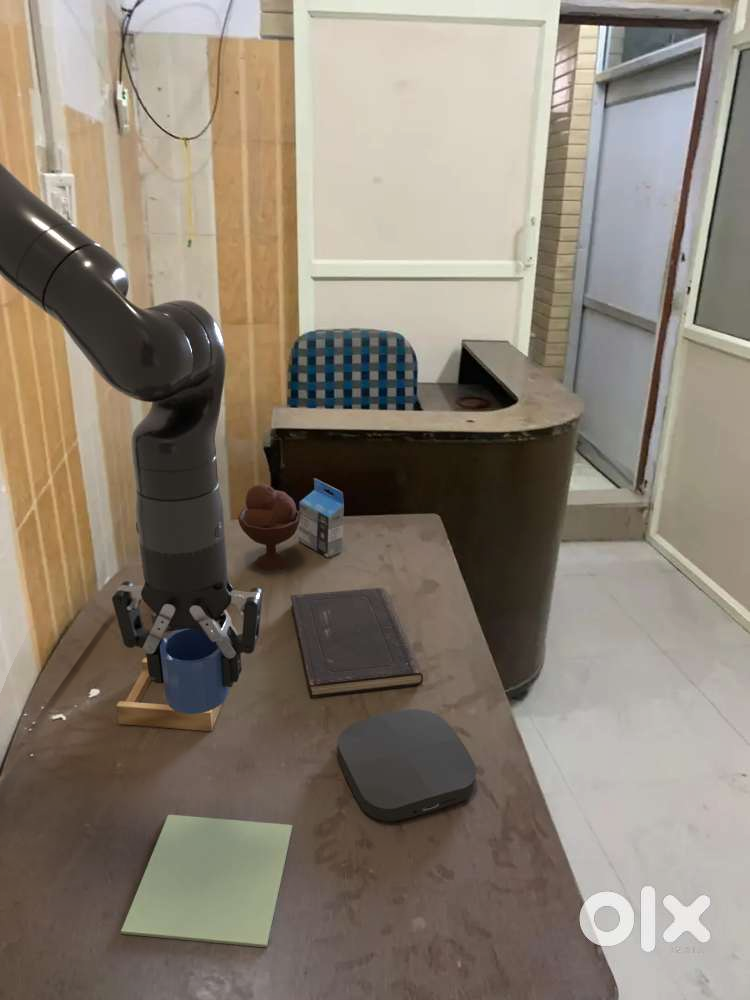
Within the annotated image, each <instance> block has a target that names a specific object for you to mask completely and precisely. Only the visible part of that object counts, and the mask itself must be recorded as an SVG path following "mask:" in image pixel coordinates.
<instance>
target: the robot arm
mask: <svg viewBox="0 0 750 1000" xmlns="http://www.w3.org/2000/svg"><path fill="white" fill-rule="evenodd" d="M0 276H1V277H2V278H3V280H5V281H6V282H7V283H8V284H9V285H10V286H12V287H13V288H14V289H15V290H17V291H18V292H19V293H20V294H22V295H23V296H24V297H25V298H26V299H28V300H29V301H31V303H32V304H34V305H36V307H38V308H39V309H40V310H42V311H43V312H44V313H46V314H47V315H49V316H50V317H52V318H53V319H54V320H55V321H57V322H58V323H60V324H61V326H62V327H63V329H64V330H65V331H66V333H67V334H68V335H69V337H70V338H71V340H72V341H73V343H74V344H75V345H76V347H77V348H78V349H79V350H80V352H81V353H82V354H83V356H84V357H85V358H86V359H87V361H88V362H89V364H90V365H91V366H92V367H93V369H94V370H95V371H96V372H97V373H98V375H99V376H100V377H101V378H102V379H103V380H104V381H105V382H106V383H107V384H108V385H109V386H110V387H112V388H113V389H114V390H116V391H117V392H119V393H120V394H123V395H124V396H127V397H129V398H131V399H133V400H137V401H140V402H144V403H151V407H150V409H149V411H148V412H147V414H146V415H145V416H144V418H143V419H142V420H141V421H140V422H139V423H138V424H137V425H136V426H135V428H134V429H133V432H132V434H131V439H130V440H131V442H130V443H131V444H130V445H131V457H132V467H133V474H134V475H133V477H134V483H135V484H134V485H135V493H136V496H135V497H136V499H135V500H136V501H135V515H136V516H135V517H136V522H135V527H136V528H135V529H136V533H137V535H138V542H139V550H140V551H139V552H140V558H141V559H140V560H141V565H142V566H141V567H142V574H143V580H144V584H143V585H134V584H133V583H132V582H130V581H127V580H126V581H123V582H122V583H121V584H120V586H119V587H118V588H117V590H116V591H115V593H114V594H113V596H112V598H111V601H112V605H113V608H114V612H115V617H116V620H117V622H118V623H117V624H118V627H119V631H120V634H121V638H122V642H123V644H124V646H126V648H129V649H132V648H135V647H138V648H141V649H142V650H143V652H144V653H145V656H146V657H145V658H147V665H148V673H149V675H150V677H151V678H155V680H154V684H157V685H158V684H159V685H161V684H163V685H164V682H163V673H162V665H161V656H160V644H161V642H162V640H163V637H164V635H165V633H166V631H167V630H166V629H167V627H168V626H170V627H171V629H170V630H173V631H176V630H182V629H191V630H195V631H205V633H206V634H207V636H208V637H209V639H210V640H211V642H215V643H216V644H217V646H218V647H219V649H220V650H221V652H222V653H223V657H222V666H223V679H224V687H229V688H233V687H234V686H233V685H234V683H237V682H238V681H239V678H240V675H241V672H242V670H243V669H242V653H244V654H247V655H250V654H252V653H254V650H255V648H256V646H257V645H256V644H257V642H258V639H259V637H260V625H261V614H262V613H261V612H262V602H263V591H262V589H260V588H259V587H251V588H250V590H249V591H243V590H237V589H234V588H233V586H232V584H231V582H230V580H229V578H228V563H227V548H226V534H225V519H224V505H223V500H222V496H221V491H220V486H219V477H218V463H217V447H216V430H217V428H218V427H217V426H218V422H219V419H220V418H219V417H220V413H221V406H222V405H221V404H222V399H223V392H224V385H225V377H226V365H227V361H226V360H227V359H226V348H225V342H224V338H223V335H222V332H221V329H220V327H219V324H218V323H217V321H216V318H214V317H213V315H212V314H211V313H210V312H209V311H208V310H207V309H206V308H205V307H204V306H202V305H201V304H199V303H197V302H195V301H192V300H185V299H177V300H176V299H175V300H171V301H167V302H164V303H159V304H157V305H153V306H150V307H146V308H140V307H139V306H138V305H135V304H134V303H133V302H131V301H130V299H128V298H127V296H128V292H129V287H130V281H129V275H128V272H127V271H126V268H125V267H124V266H123V265H122V264H121V262H120V261H119V260H118V259H117V258H116V257H115V256H113V255H112V254H111V253H110V252H109V251H107V250H106V248H103V247H102V246H101V245H100V244H98V242H96V241H95V240H94V239H92V237H89V236H88V235H87V234H86V233H84V232H83V231H82V230H81V229H79V228H78V227H77V226H76V225H74V224H73V223H71V222H70V221H69V220H68V219H66V218H65V217H64V216H62V215H61V214H60V213H59V212H57V210H55V209H53V208H52V207H51V206H50V205H48V204H47V203H46V202H44V200H42V199H41V198H40V197H39V196H37V194H35V193H34V192H32V191H31V190H30V189H29V188H28V187H27V186H26V185H24V184H23V183H22V182H21V181H20V180H19V179H18V178H17V177H16V176H15V175H13V173H11V172H10V171H9V169H7V168H6V167H5V165H4V164H2V162H0ZM142 601H143V602H144V603H145V604H146V605H147V606H148V607H149V609H150V610H151V611H152V610H153V612H154V613H155V614H156V615H157V616H158V617H157V619H156V621H155V623H154V625H153V624H152V627H151V629H148V628H145V625H144V622H143V617H142V613H141V610H140V605H141V603H142ZM230 604H231V605H232V604H233V606H235V607H236V611H237V613H238V615H239V617H243V618H242V619H243V620H242V633H240V634H239V632H238V631H237V629H236V627H235V626H234V624H233V622H232V617H231V615H230V614H229V612H228V611H227V609H228V607H229V606H230Z"/></svg>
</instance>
